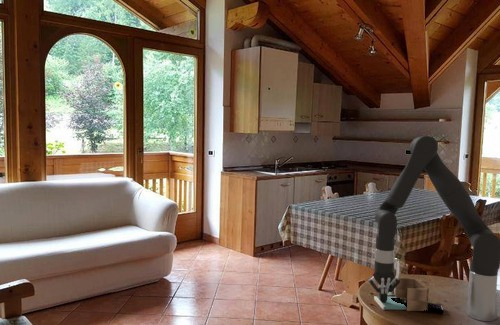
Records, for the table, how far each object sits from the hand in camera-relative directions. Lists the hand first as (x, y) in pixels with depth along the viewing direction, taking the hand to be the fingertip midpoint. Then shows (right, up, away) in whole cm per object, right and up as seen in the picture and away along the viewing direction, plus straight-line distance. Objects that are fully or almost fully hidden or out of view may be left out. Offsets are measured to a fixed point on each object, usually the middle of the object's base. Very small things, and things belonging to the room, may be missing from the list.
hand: (383, 301), depth 166 cm
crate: (+11, -2, +1) cm, 11 cm away
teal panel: (+7, -1, +1) cm, 7 cm away
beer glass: (+7, -1, +13) cm, 15 cm away
